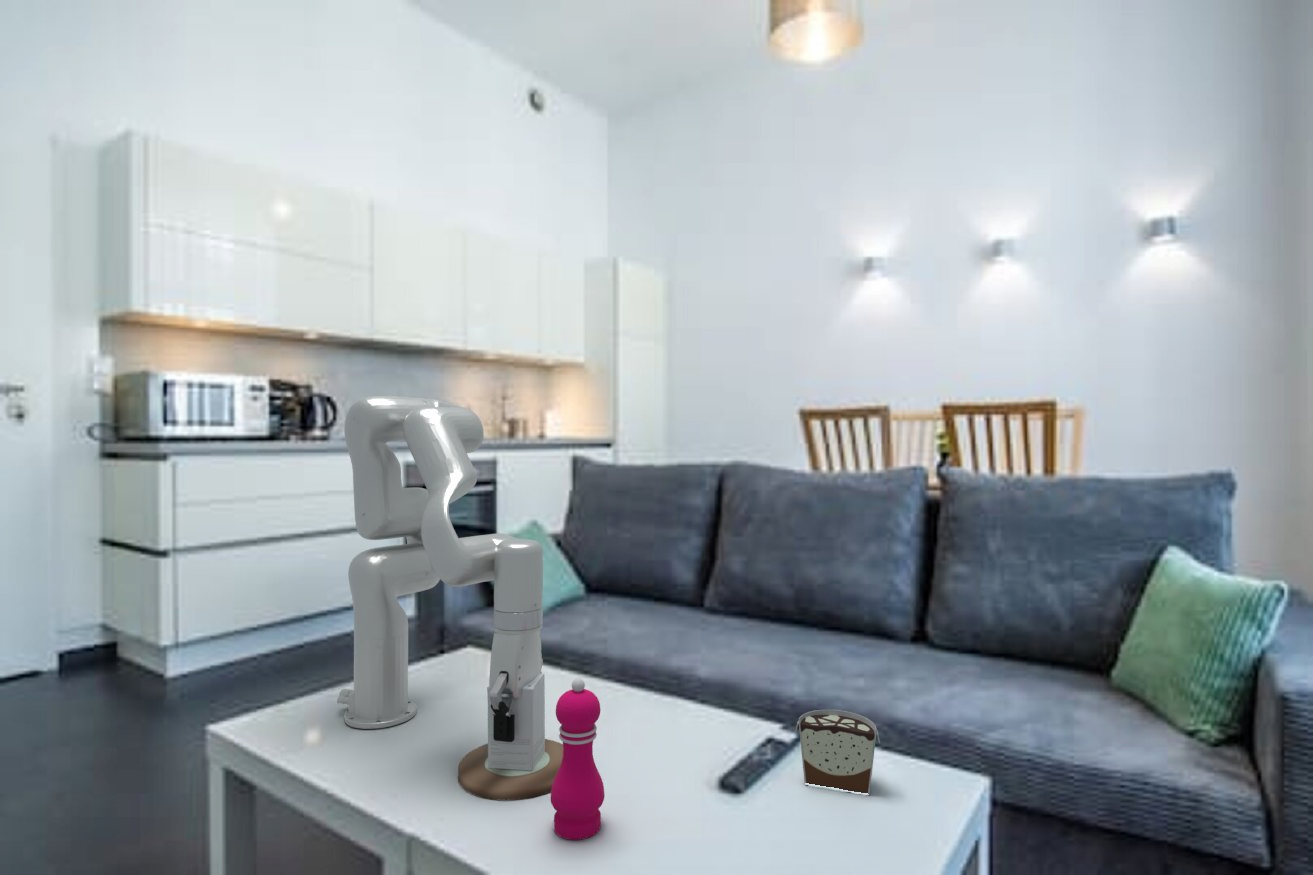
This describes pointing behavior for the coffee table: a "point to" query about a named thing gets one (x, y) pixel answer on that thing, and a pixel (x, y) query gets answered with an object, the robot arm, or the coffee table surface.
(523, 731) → the supplement box
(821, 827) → the coffee table surface
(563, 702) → the pepper mill
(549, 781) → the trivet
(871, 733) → the food container
